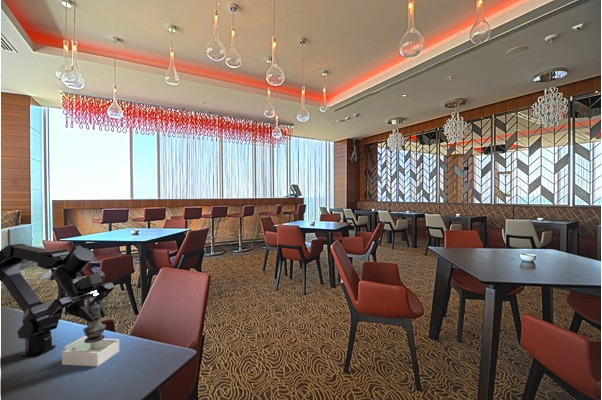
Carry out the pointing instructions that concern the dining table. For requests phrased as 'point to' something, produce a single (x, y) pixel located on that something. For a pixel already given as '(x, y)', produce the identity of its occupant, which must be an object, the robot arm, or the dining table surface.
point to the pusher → (82, 346)
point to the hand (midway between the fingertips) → (98, 318)
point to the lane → (90, 353)
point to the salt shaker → (95, 325)
